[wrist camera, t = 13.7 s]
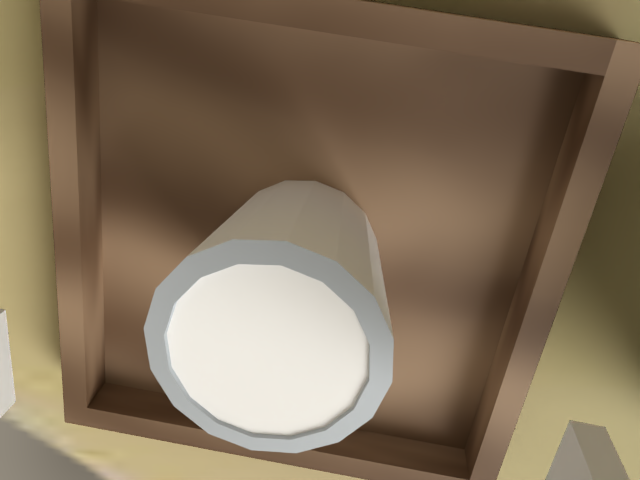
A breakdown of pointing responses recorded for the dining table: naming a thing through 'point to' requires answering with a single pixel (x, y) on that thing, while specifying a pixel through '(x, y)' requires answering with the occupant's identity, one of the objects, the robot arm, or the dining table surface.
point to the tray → (339, 173)
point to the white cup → (277, 323)
